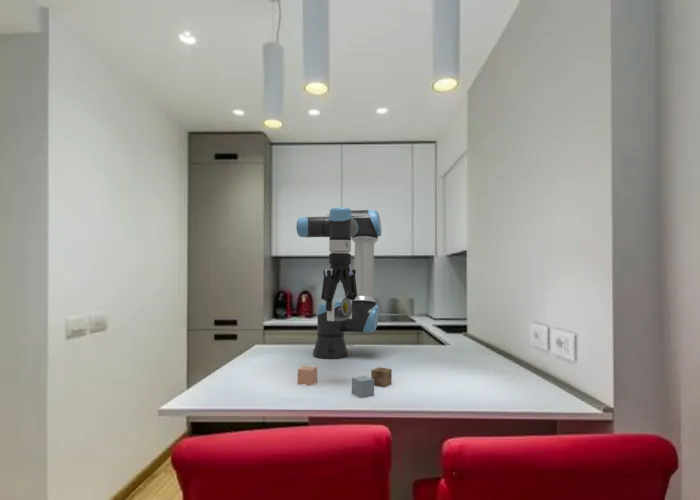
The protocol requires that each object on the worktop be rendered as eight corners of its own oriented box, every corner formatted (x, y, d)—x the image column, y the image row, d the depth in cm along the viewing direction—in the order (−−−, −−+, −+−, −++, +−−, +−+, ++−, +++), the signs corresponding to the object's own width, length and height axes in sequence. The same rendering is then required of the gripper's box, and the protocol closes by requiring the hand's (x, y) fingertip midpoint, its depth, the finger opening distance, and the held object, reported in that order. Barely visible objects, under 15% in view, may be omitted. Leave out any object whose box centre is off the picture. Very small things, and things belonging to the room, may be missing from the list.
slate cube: (351, 393, 140) (351, 377, 140) (364, 391, 142) (365, 375, 142) (360, 398, 135) (360, 381, 136) (374, 395, 138) (374, 379, 138)
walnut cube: (371, 385, 150) (371, 370, 150) (378, 381, 154) (378, 367, 154) (384, 387, 147) (384, 372, 147) (391, 384, 151) (391, 369, 151)
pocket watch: (323, 321, 152) (323, 291, 152) (336, 318, 159) (336, 289, 159) (345, 322, 148) (345, 292, 148) (356, 319, 155) (356, 290, 156)
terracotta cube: (297, 384, 150) (297, 369, 150) (303, 380, 155) (303, 366, 155) (311, 385, 148) (311, 370, 148) (317, 382, 153) (317, 367, 153)
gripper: (326, 252, 144) (325, 323, 143) (368, 253, 159) (367, 317, 158) (310, 252, 149) (309, 321, 148) (352, 253, 164) (351, 316, 163)
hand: (339, 319), depth 153 cm, fingers closed on pocket watch, 8 cm apart
